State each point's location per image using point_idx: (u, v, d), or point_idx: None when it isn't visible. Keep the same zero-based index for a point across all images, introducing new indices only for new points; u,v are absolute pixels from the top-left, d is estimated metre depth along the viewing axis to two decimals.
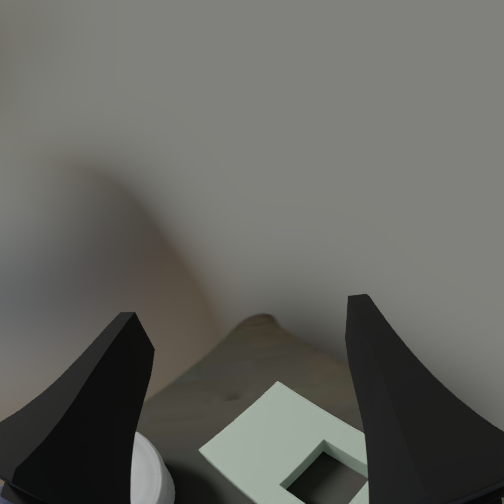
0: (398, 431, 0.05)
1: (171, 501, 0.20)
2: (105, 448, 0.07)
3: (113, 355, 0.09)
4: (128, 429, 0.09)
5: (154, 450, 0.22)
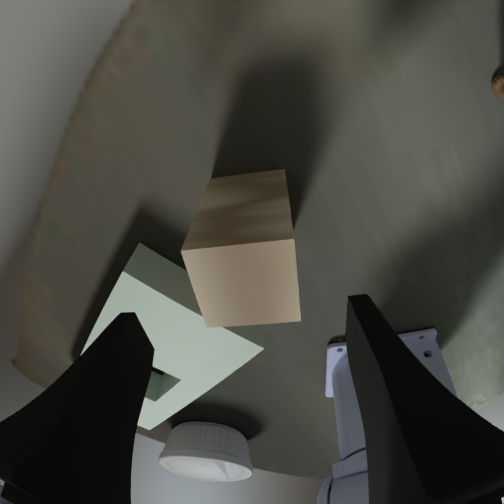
0: (397, 431, 0.05)
1: (200, 432, 0.31)
2: (105, 448, 0.07)
3: (113, 355, 0.09)
4: (128, 429, 0.09)
5: (165, 457, 0.30)
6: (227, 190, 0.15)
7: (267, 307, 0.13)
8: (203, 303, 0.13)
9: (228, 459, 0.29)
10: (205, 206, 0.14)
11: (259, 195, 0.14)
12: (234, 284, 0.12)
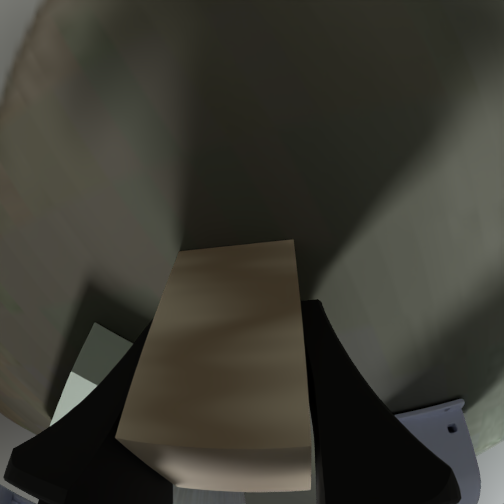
0: (319, 443, 0.05)
1: None
2: None
3: None
4: None
5: None
6: (200, 287, 0.09)
7: (262, 485, 0.07)
8: (167, 475, 0.07)
9: None
10: (162, 324, 0.08)
11: (252, 307, 0.08)
12: (209, 471, 0.06)
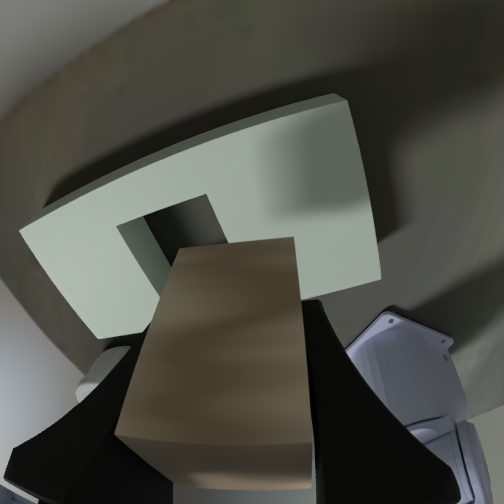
0: (319, 443, 0.05)
1: None
2: None
3: None
4: None
5: None
6: (200, 283, 0.09)
7: (262, 482, 0.07)
8: (166, 473, 0.07)
9: None
10: (162, 320, 0.08)
11: (252, 303, 0.08)
12: (209, 468, 0.06)
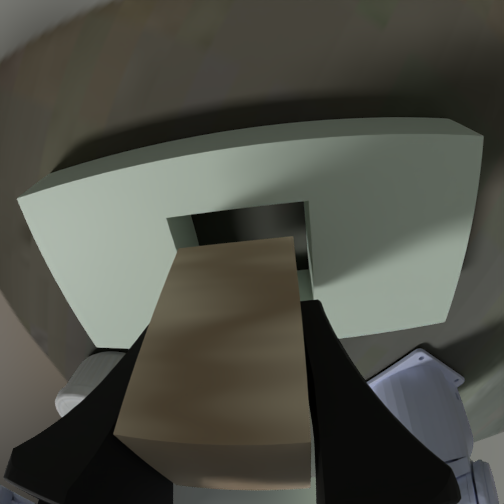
0: (319, 443, 0.05)
1: None
2: None
3: None
4: None
5: None
6: (199, 283, 0.09)
7: (261, 482, 0.07)
8: (166, 472, 0.07)
9: None
10: (161, 320, 0.08)
11: (251, 303, 0.08)
12: (209, 468, 0.06)
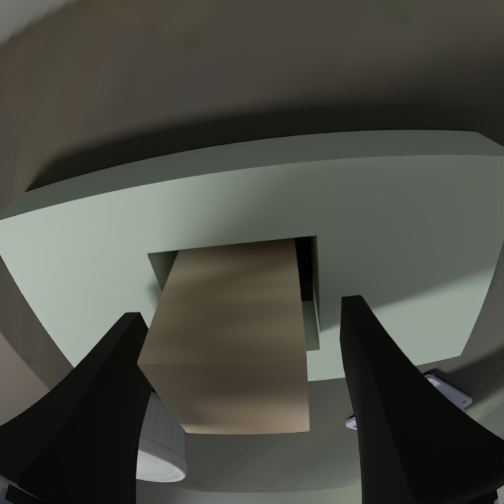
0: (388, 433, 0.05)
1: (149, 408, 0.19)
2: (111, 449, 0.07)
3: (118, 355, 0.09)
4: (134, 430, 0.09)
5: None
6: (210, 247, 0.11)
7: (265, 421, 0.08)
8: (178, 414, 0.09)
9: (180, 464, 0.18)
10: (178, 275, 0.10)
11: (255, 259, 0.10)
12: (219, 401, 0.08)
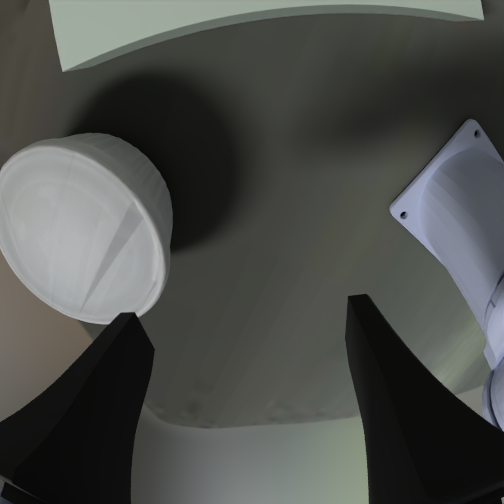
0: (397, 431, 0.05)
1: (130, 151, 0.15)
2: (105, 448, 0.07)
3: (113, 355, 0.09)
4: (129, 429, 0.09)
5: (33, 147, 0.11)
6: None
7: None
8: None
9: (158, 224, 0.14)
10: None
11: None
12: None
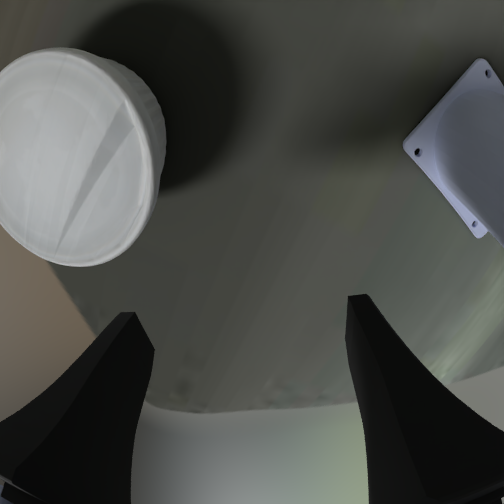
0: (397, 431, 0.05)
1: (126, 69, 0.13)
2: (105, 448, 0.07)
3: (113, 355, 0.09)
4: (128, 429, 0.09)
5: (25, 56, 0.09)
6: None
7: None
8: None
9: (149, 130, 0.11)
10: None
11: None
12: None
